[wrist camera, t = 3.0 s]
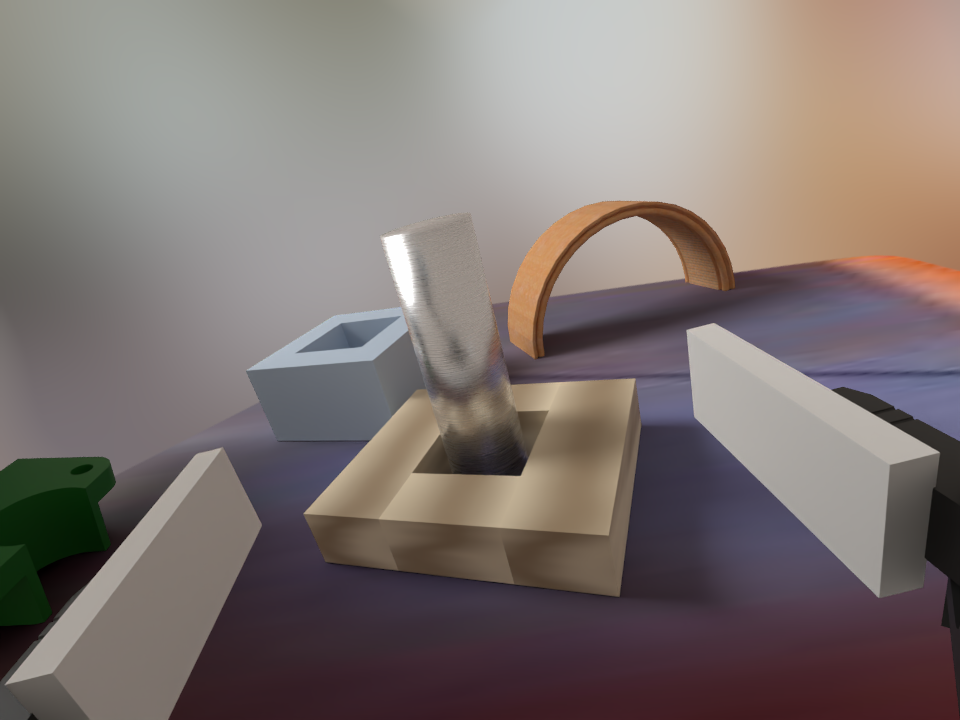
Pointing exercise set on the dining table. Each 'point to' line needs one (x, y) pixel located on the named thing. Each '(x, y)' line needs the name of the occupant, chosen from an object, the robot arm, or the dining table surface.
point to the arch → (564, 237)
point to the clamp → (46, 526)
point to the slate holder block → (339, 378)
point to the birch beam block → (495, 495)
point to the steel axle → (457, 343)
